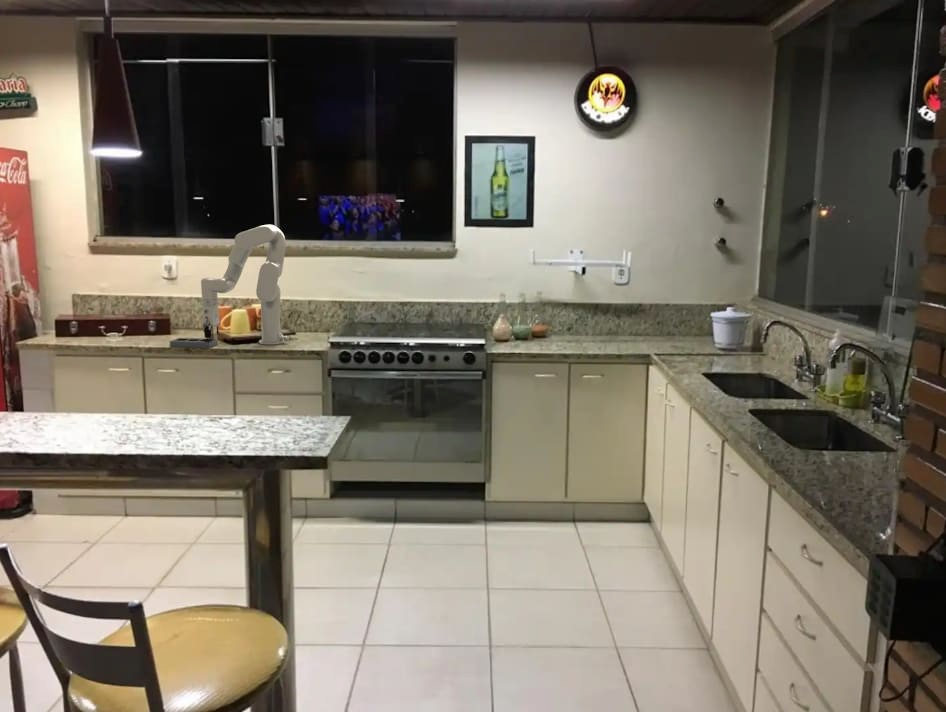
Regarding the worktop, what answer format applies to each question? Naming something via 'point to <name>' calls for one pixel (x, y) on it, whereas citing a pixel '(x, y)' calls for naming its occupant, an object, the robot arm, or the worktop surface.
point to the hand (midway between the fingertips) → (211, 335)
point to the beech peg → (213, 332)
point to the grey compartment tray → (193, 343)
